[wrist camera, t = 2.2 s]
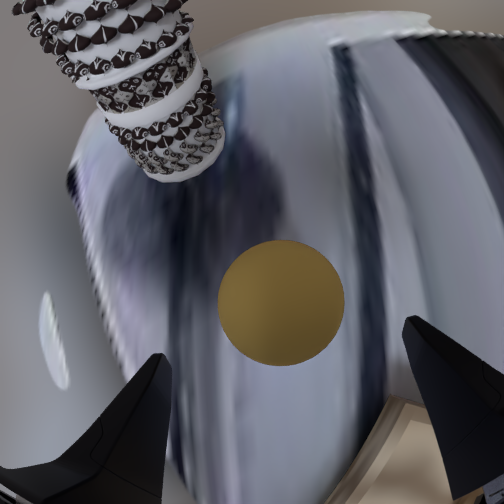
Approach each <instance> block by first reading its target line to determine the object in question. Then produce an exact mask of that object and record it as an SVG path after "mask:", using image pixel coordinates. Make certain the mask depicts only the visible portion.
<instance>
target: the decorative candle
mask: <svg viewBox="0 0 504 504" xmlns="http://www.w3.org/2000/svg"><path fill="white" fill-rule="evenodd" d="M22 1H23V3H21V2H18V3H17V4H16V5H15V6H14V7H13V9H12V14H13V15H19V14H26V13H29V12H34V14H33V16H32V18H31V20H30V22H29V23H28V26H27V29H28V30H29V31H30V35H31V36H32V37H38V36H41V35H42V38H41V40H40V45H41V46H43V48H42V49H43V52H44V53H51V52H52V53H53V54H54V55H59V56H58V58H57V60H56V63H57V65H58V66H61V71H62V73H64V74H68V77H71V78H72V79H73V81H72V82H74V83H75V84H76V85H77V87H78V88H79V89H88V90H89V91H90V92H91V94H92V95H93V96H94V98H95V99H96V101H97V106H98V107H99V109H100V110H101V111H102V112H103V114H104V115H105V116H106V117H105V122H106V124H107V125H109V130H110V132H111V133H113V134H115V135H116V136H119V138H118V140H119V143H120V144H122V145H124V147H125V148H126V149H127V152H128V154H129V156H130V157H131V158H133V159H135V162H136V164H137V165H138V166H139V167H140V168H142V169H143V170H144V171H145V173H146V174H147V175H148V176H149V177H150V178H153V179H155V180H158V181H160V182H181V181H184V180H187V179H189V178H192V177H195V176H197V175H199V174H200V173H202V172H203V171H204V170H206V169H207V168H208V167H209V166H211V165H212V164H213V163H214V162H215V160H216V159H217V157H218V156H219V154H220V153H221V151H222V150H223V147H224V141H225V135H226V134H225V131H224V128H223V125H224V122H223V121H221V120H220V119H219V118H217V116H219V115H220V112H221V111H220V109H218V108H216V109H214V108H212V107H213V105H215V104H216V103H217V100H216V99H215V94H214V93H213V92H211V90H212V85H211V79H210V78H208V77H207V76H208V71H207V69H206V68H202V67H201V63H200V60H199V58H198V55H197V53H196V51H195V50H194V49H193V47H192V44H191V41H190V37H189V35H190V33H191V30H192V29H193V23H192V22H193V21H194V19H193V18H190V16H189V14H188V13H185V12H182V11H179V10H178V9H179V8H181V6H182V5H183V4H184V3H185V2H186V1H188V0H22ZM40 20H43V22H44V24H41V21H40ZM52 35H53V36H52ZM53 37H54V38H55V40H56V42H55V44H54V42H53ZM69 60H70V62H69Z"/></svg>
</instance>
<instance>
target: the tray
mask: <svg viewBox="0 0 504 504" xmlns="http://www.w3.org/2000/svg"><path fill="white" fill-rule="evenodd" d="M442 459H443V458H442V456H441V453H440V449H439V446H438V443H437V440H436V436H435V433H434V430H433V427H432V424H431V421H430V418H429V415H428V412H427V410H426V407H425V405H424V404H420V403H417V402H414V401H410V400H407V399H404V398H400V397H397V396H394V395H391V394H390V395H389V397H388V400H387V402H386V404H385V406H384V408H383V410H382V412H381V414H380V416H379V418H378V419H377V421H376V423H375V425H374V427H373V429H372V431H371V432H370V434H369V436H368V438H367V440H366V441H365V443H364V445H363V446H362V448H361V450H360V451H359V453H358V455H357V456H356V458H355V460H354V461H353V463H352V464H351V466H350V467H349V469H348V470H347V472H346V473H345V475H344V476H343V478H342V479H341V481H340V482H339V484H338V485H337V487H336V488H335V489H334V491H333V492H332V493H331V495H330V496H329V497H328V499H327V500H326V501H325V503H324V504H474V502H475V499H476V497H477V496H479V495H480V494H482V493H484V492H483V489H482V487H480V488H478V489H477V490H475V491H473V492H471V493H469V494H467V495H465V496H463V497H461V498H458V499H456V500H454V501H453V499H452V496H451V491H450V487H449V483H448V479H447V475H446V471H445V467H444V464H443V460H442Z"/></svg>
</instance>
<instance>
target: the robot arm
mask: <svg viewBox="0 0 504 504" xmlns="http://www.w3.org/2000/svg"><path fill="white" fill-rule="evenodd" d="M402 338H403V341H404V345H405V348H406V352H407V355H408V359H409V362H410V366H411V369H412V372H413V375H414V378H415V380H416V383H417V385H418V388H419V390H420V393H421V396H422V398H423V401H424V404H425V407H426V410H427V412H428V415H429V418H430V421H431V424H432V427H433V430H434V433H435V436H436V440H437V443H438V446H439V449H440V453H441V456H442V458H443V459H442V460H443V464H444V467H445V471H446V475H447V479H448V483H449V487H450V491H451V496H452V499H453V501H454V500H456V499H458V498H461V497H463V496H465V495H467V494H469V493H471V492H473V491H475V490H477V489H478V488H480V487H482V489H483V492H484V493H482V494H480V495H479V496H477V497H476V499H475V502H474V504H504V374H502V373H501V372H499V371H497V370H496V369H494V368H493V367H491V366H490V365H489V364H487V363H486V362H484V361H482V360H481V359H480V358H479V357H477V356H476V355H474V354H473V353H471V352H470V351H469V350H467V349H466V348H464V347H463V346H461V345H460V344H459V343H457V342H456V341H454V340H453V339H451V338H450V337H448V336H447V335H445V334H444V333H442V332H441V331H440V330H438V329H437V328H435V327H434V326H432V325H431V324H429V323H428V322H426V321H425V320H423V319H422V318H420V317H419V316H417V315H414V316H410V317H407V318H406V320H405V323H404V327H403V331H402ZM171 402H172V368H171V365H170V363H169V362H168V360H167V358H166V356H165V355H164V354H163V353H155V354H152V355H151V356H150V358H149V359H148V360H147V361H146V362H145V363H144V365H143V366H142V367H141V368H140V369H139V370H138V372H137V373H136V374H135V375H134V376H133V377H132V379H131V380H130V381H129V382H128V383H127V384H126V386H125V387H124V388H123V389H122V390H121V391H120V393H119V394H118V395H117V396H116V397H115V398H114V400H113V401H112V402H111V403H110V404H109V405H108V407H107V408H106V409H105V410H104V411H103V413H102V414H101V415H100V417H98V418H97V420H96V421H95V422H94V423H93V424H92V425H91V427H90V428H89V429H88V430H87V431H86V432H85V433H84V434H83V435H82V436H81V437H80V438H79V439H78V440H77V441H76V442H75V443H74V444H73V445H72V446H71V447H70V448H69V449H67V450H66V451H65V452H64V453H63V454H62V455H61V456H60V457H59V458H57V459H56V460H54V461H51V462H48V463H44V464H39V465H34V466H29V467H23V468H17V469H6V468H3V467H1V466H0V483H1V484H2V485H3V486H5V487H6V488H8V489H9V490H11V491H13V492H14V493H16V494H17V495H16V498H14V497H12V496H10V495H8V494H7V493H5V492H3V491H1V490H0V504H161V501H162V499H161V498H162V488H163V476H164V465H165V456H166V447H167V438H168V430H169V422H170V414H171Z"/></svg>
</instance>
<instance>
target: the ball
mask: <svg viewBox="0 0 504 504" xmlns="http://www.w3.org/2000/svg"><path fill="white" fill-rule="evenodd" d="M218 312H219V318H220V322H221V325H222V327H223V330H224V332H225V334H226V335H227V337H228V339H229V340H230V341H231V343H232V344H233V345H234V346H235V347H236V348H237V349H238V350H239V351H240V352H241V353H243V354H244V355H246V356H247V357H249V358H251V359H253V360H254V361H257V362H260V363H262V364H267V365H272V366H289V365H295V364H298V363H301V362H304V361H306V360H309V359H311V358H313V357H314V356H316V355H317V354H319V353H320V352H321V351H322V350H323V349H325V348H326V347H327V345H328V344H329V343H330V342H331V341H332V339H333V338H334V336H335V335H336V333H337V331H338V329H339V327H340V324H341V321H342V318H343V313H344V292H343V287H342V283H341V281H340V278H339V276H338V274H337V272H336V270H335V269H334V267H333V266H332V264H331V263H330V262H329V261H328V260H327V259H326V258H325V257H324V256H323V255H322V254H321V253H320V252H318V251H317V250H315V249H314V248H312V247H310V246H308V245H305V244H302V243H299V242H295V241H290V240H273V241H268V242H264V243H261V244H258V245H256V246H254V247H251V248H250V249H248V250H247V251H245V252H244V253H242V254H241V255H240V256H239V257H238V258H237V259H236V260H235V261H234V262H233V263H232V264H231V266H230V267H229V268H228V270H227V272H226V273H225V275H224V277H223V280H222V282H221V285H220V289H219V294H218Z"/></svg>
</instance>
